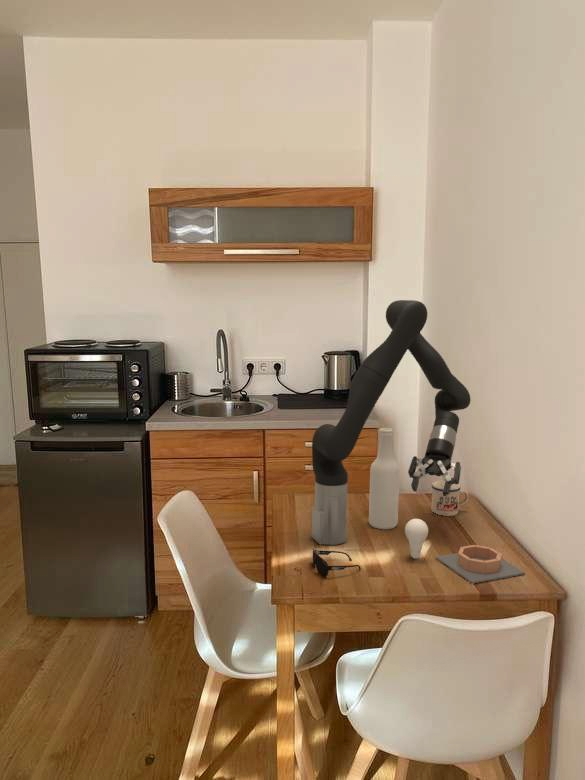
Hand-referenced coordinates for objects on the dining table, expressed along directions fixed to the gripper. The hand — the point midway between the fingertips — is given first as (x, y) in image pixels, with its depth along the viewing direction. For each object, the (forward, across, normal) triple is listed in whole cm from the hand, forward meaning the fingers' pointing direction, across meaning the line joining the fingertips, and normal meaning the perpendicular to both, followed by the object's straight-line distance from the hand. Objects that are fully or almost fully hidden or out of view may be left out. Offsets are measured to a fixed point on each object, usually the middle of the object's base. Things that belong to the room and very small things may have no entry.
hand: (429, 492), depth 179 cm
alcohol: (+5, -16, +17) cm, 24 cm away
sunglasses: (+30, -17, -8) cm, 35 cm away
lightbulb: (+19, 0, +3) cm, 19 cm away
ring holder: (+17, +16, +5) cm, 24 cm away
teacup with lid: (-10, -1, +32) cm, 33 cm away
